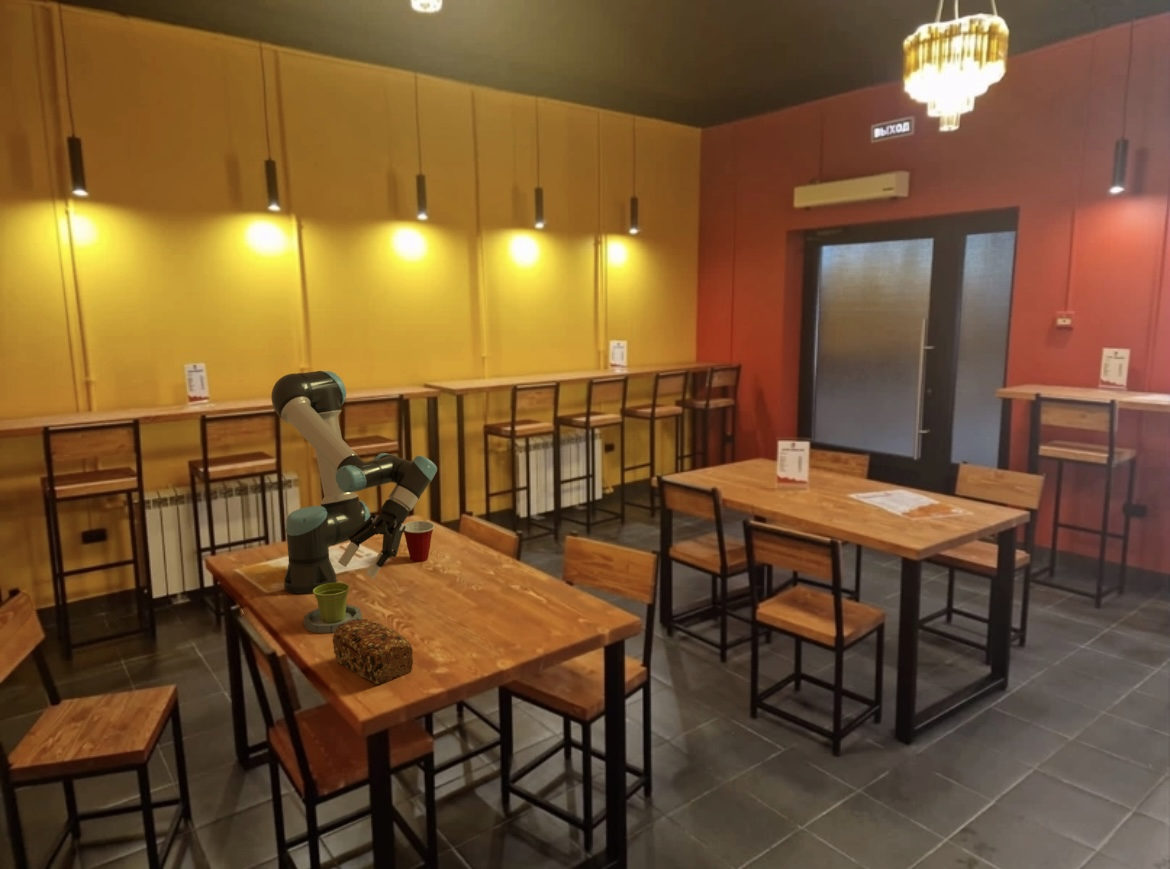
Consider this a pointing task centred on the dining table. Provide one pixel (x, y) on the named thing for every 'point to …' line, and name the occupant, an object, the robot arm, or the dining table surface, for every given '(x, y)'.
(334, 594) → the plant pot
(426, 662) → the dining table surface
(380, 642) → the bread
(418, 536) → the plastic cup
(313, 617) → the saucer
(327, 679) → the dining table surface
